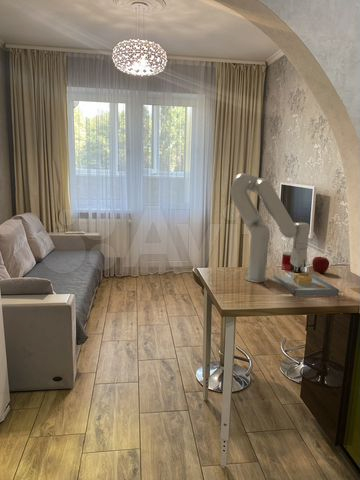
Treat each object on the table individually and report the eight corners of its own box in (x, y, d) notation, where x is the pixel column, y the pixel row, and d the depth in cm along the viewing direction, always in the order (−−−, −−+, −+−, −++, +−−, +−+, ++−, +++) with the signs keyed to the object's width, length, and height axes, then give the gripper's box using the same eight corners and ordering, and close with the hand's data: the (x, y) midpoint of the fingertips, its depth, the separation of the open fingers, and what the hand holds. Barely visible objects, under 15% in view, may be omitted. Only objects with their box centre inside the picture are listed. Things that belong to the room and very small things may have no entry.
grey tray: (273, 279, 203) (273, 274, 203) (312, 279, 207) (312, 274, 206) (294, 296, 178) (295, 290, 177) (338, 295, 182) (338, 289, 181)
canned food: (293, 273, 217) (294, 255, 215) (279, 271, 221) (281, 253, 219) (296, 270, 224) (297, 253, 221) (282, 268, 227) (284, 251, 225)
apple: (328, 272, 223) (330, 256, 221) (327, 276, 214) (329, 259, 212) (312, 269, 226) (313, 254, 224) (310, 273, 218) (312, 257, 216)
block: (293, 281, 198) (293, 273, 197) (305, 281, 199) (306, 273, 198) (298, 285, 191) (299, 277, 190) (311, 285, 192) (312, 277, 191)
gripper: (287, 242, 203) (284, 274, 207) (300, 248, 189) (297, 282, 192) (300, 242, 204) (297, 274, 208) (313, 248, 190) (310, 282, 194)
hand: (297, 278), depth 200 cm, fingers closed
